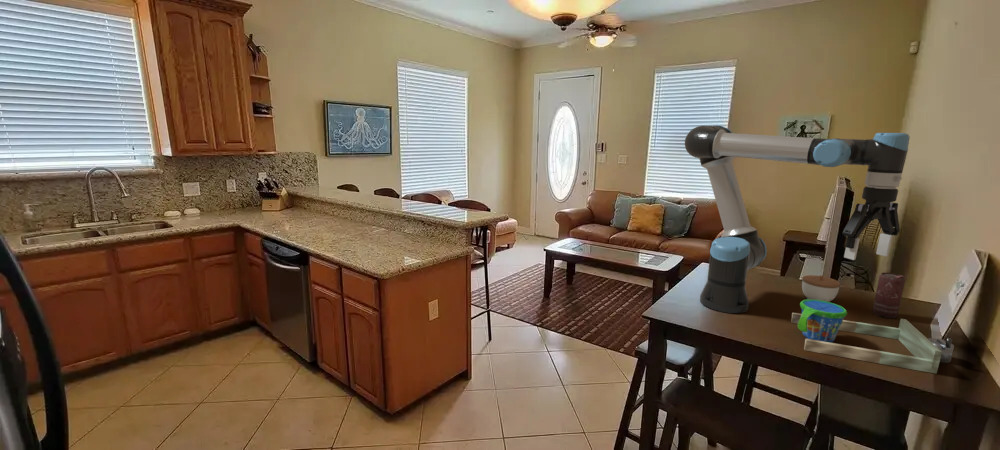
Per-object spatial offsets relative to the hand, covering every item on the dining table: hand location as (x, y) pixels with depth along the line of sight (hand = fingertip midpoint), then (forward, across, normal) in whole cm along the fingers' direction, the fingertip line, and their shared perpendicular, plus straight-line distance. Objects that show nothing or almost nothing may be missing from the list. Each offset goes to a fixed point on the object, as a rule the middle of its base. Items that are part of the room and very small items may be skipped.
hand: (865, 256), depth 125 cm
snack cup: (+23, -18, -3) cm, 29 cm away
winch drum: (+22, +1, -21) cm, 30 cm away
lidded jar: (+23, +10, +18) cm, 31 cm away
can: (+22, +19, +2) cm, 29 cm away
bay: (+22, -12, -9) cm, 27 cm away
